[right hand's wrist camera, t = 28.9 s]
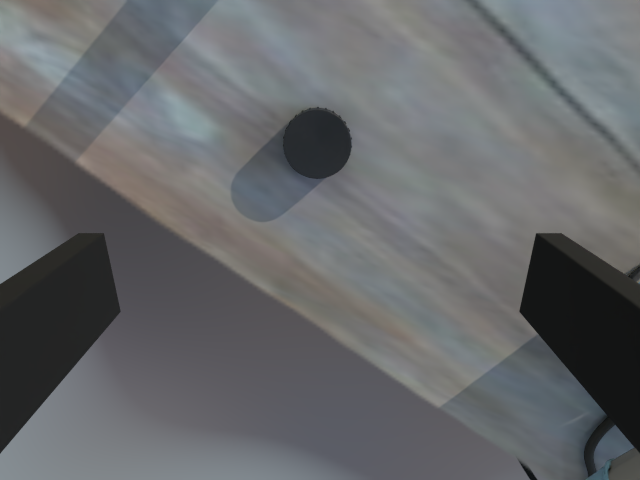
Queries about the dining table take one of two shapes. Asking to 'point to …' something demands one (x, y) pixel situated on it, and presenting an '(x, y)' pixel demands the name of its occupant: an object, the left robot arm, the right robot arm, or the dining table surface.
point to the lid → (317, 143)
